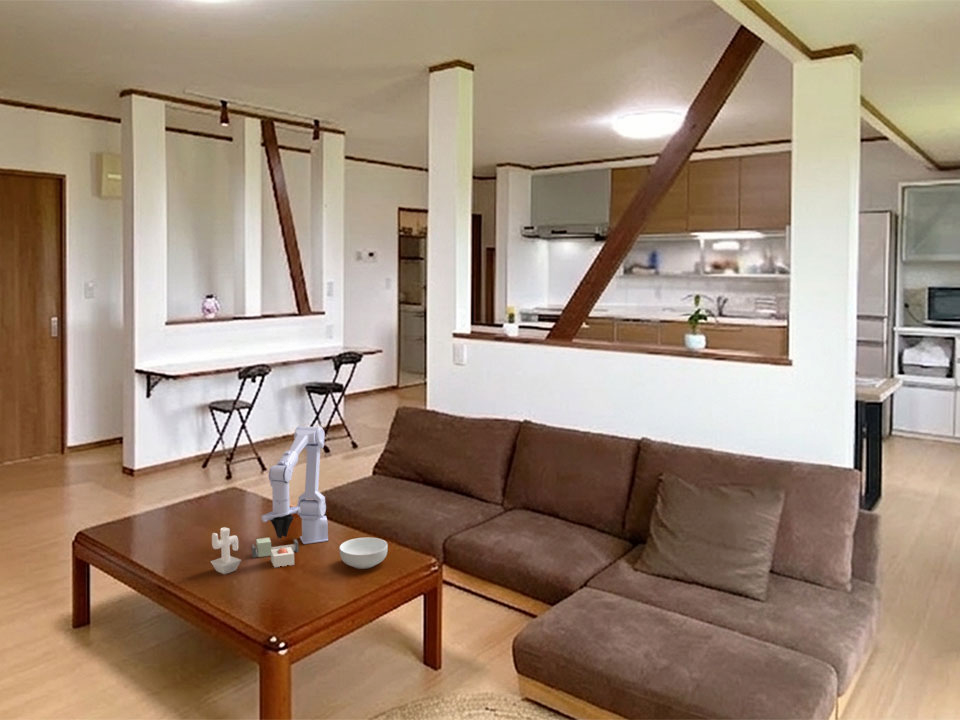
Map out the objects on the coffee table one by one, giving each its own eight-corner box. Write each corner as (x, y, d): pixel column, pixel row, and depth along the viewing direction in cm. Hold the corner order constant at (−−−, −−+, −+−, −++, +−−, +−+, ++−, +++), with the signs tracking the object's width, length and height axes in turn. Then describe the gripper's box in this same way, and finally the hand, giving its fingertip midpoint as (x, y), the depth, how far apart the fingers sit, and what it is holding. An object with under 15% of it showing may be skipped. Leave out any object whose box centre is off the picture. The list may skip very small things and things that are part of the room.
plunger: (286, 559, 276) (285, 547, 275) (287, 562, 273) (287, 550, 273) (277, 560, 274) (277, 549, 274) (279, 563, 272) (278, 551, 271)
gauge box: (291, 557, 278) (290, 547, 278) (294, 564, 272) (294, 553, 271) (271, 560, 276) (270, 549, 275) (273, 567, 269) (273, 556, 269)
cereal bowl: (341, 556, 280) (341, 537, 279) (387, 555, 282) (387, 536, 281) (338, 575, 263) (337, 554, 262) (387, 573, 265) (387, 553, 264)
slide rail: (296, 548, 288) (296, 539, 288) (298, 551, 284) (298, 542, 284) (251, 554, 282) (251, 544, 281) (253, 558, 278) (253, 548, 278)
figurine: (244, 569, 268) (243, 527, 266) (220, 577, 260) (219, 534, 258) (231, 564, 272) (230, 522, 270) (207, 572, 264) (206, 529, 263)
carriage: (269, 551, 285) (269, 537, 284) (271, 555, 280) (271, 541, 280) (256, 552, 283) (256, 539, 282) (258, 557, 278) (257, 543, 278)
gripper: (292, 492, 279) (293, 529, 281) (256, 501, 269) (257, 539, 270) (303, 496, 274) (304, 533, 276) (267, 505, 264) (268, 544, 265)
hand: (282, 536), depth 273 cm, fingers closed
